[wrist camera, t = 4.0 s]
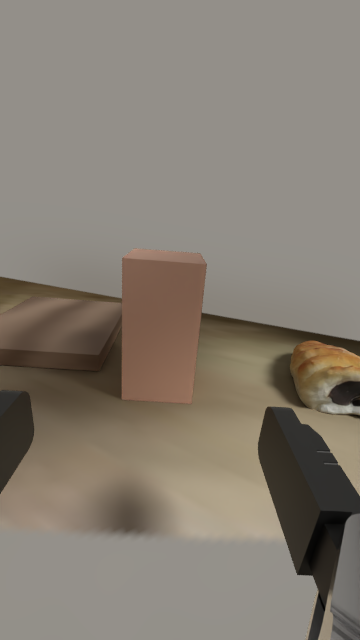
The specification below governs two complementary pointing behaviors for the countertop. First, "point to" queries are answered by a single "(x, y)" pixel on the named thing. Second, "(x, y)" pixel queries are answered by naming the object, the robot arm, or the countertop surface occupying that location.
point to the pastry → (326, 377)
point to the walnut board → (59, 333)
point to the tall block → (160, 324)
